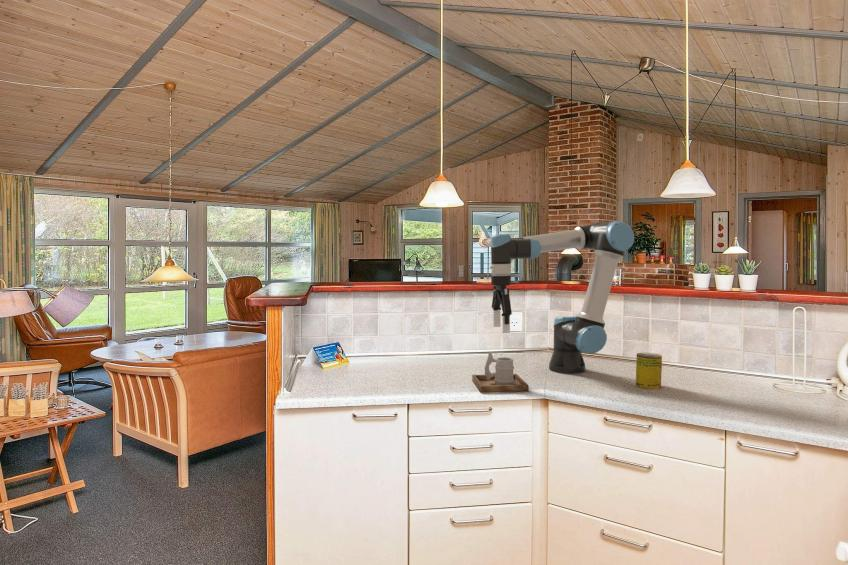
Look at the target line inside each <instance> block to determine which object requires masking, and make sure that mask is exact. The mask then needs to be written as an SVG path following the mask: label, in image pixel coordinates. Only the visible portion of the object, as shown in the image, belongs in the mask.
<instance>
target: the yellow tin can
mask: <svg viewBox="0 0 848 565" xmlns="http://www.w3.org/2000/svg"><path fill="white" fill-rule="evenodd" d="M662 362H663V355H661V354H660V353H655V352H637V353H636V362H635V363H636V366H635V369H636V370H635V387H639V388H641V389H647V390H659V389H661V387H662V370H663V369H662V366H663V363H662Z"/></svg>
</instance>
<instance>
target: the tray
mask: <svg viewBox="0 0 848 565" xmlns="http://www.w3.org/2000/svg"><path fill="white" fill-rule="evenodd" d="M494 378H495V377H491V378H490V379H489V380H487V378H486V376H485V374H472V375H471V381H472V383H473V384H474V386H475V387H476V388H477V390H478V391H479V393H480V394H486V393H487V394H491V393H496V394H497V393H526V392H527V393H529V392H530V391H529V390H530V389H529V384H528V383H527V382H526V381H525V380H524V379H523V378H522V377H520V376H519V374H517V373H513V378H514V385H495V381H494Z"/></svg>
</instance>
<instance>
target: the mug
mask: <svg viewBox="0 0 848 565" xmlns="http://www.w3.org/2000/svg"><path fill="white" fill-rule="evenodd" d="M492 363H495V366H494V369H495V371H494V372H491V370H490V365H491V364H492ZM514 370H515V366H514V359H513V358H512V357H506V356H505V357H504V356H503V357H497V358H494V356H493V353H492V352H490V351H489V352H488V356H487V359H486V362H485V365H484V375H485V376H486V378H487V380H489V379H490V378H491V377H495V378H494V381H495V385H514V378H513V374H514Z"/></svg>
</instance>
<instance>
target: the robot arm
mask: <svg viewBox="0 0 848 565" xmlns="http://www.w3.org/2000/svg"><path fill="white" fill-rule="evenodd" d="M490 239H491V240H490V258H491V261H490V263H491V265H490V267H489V269H490V270H491V273H490V274H492V275H491V276H490V280H491V281H490V282H491V283H490V284H491V286H492V287H493V294H492V299H491V300H492V301H491V309H492V312H493V313H492V314H493V315H492V316H493V317H492V322H493V324H492V325H493V326H492V327H493V328H499V327H501V325H502V327H501V330H502V334H510V333H511V315H513V312H512V305H511V297H510V289H509V288H507V287H508V286H511V284H512V276H511V274H512V260H515V259H516V260H517V259H518V260H519V259H520V260H521V259H530V260H531V259H537V258H539V257H540V255H541V254H543V253H548V252H549V253H550V252H556V251H564V250H569V249H577V250H593V252H594V254H595V255H596V257H595V261H594V264H593V268H592V272H591V276H590V279H589V282H588V286H587V289H586V292H585V297H584V300H583V303H582V308H581V312H580V313H579V314H577V315H576V316H572V315H571V316H558V317H557V316H556V317H555V318H554V321H553V352H552V355H551V357H550V360H549V362H548V369H549V370H550V371H552V372H555V373H561V374H581V373H584V372H586V362H585V360H584V357H583V354H582V353H584V354H590V355H591V354H596V353H598V352H600V351H601V350H603V349H604V347H605V345H606V343H607V338H608V336H607V333H606V330H605V329H604V328H605V325H606V322H605V320H604V319H603V318H604V313H605V311H606V308H607V303H608V299H609V295H610V293H611V289H612V286H613V282H614V276H615V274H616V270H617V266H618V264H619V263H618V262H619V261H621V260H622V259H624V256H625V252H626V251H628V250H629V249H631V248H632V246H633V244H634V242H635V233H634V231H633V229H632V227H631V226H630V225H629V224H628V223H626V222H623V221H617V220H614V221H598V222H594V223H591V224H587V225H582V226H576V227H574V229H573V230H564V231H557V232H549V233H543V234H536V235H527V236H522V237H516V238H512V236H511V234H505V233H504V234H493V235H491V238H490ZM501 311H502V313H501ZM501 320H502V322H501Z"/></svg>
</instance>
